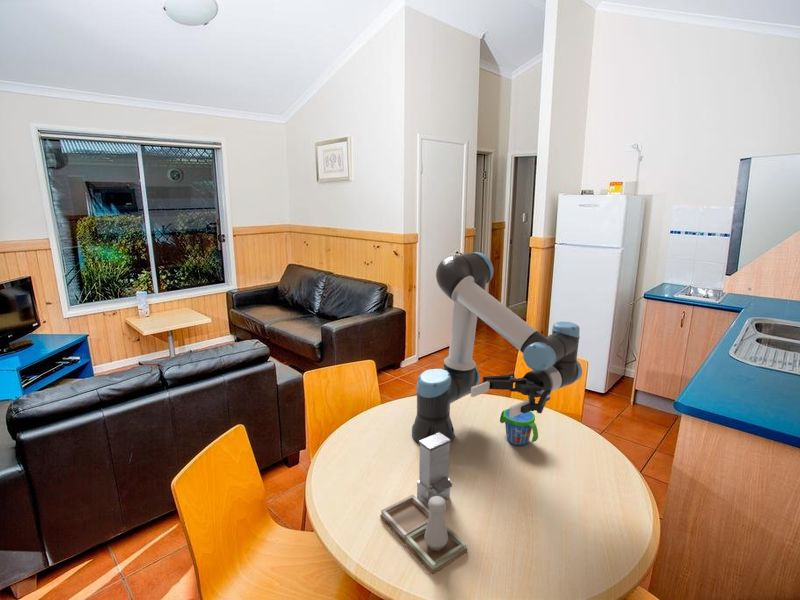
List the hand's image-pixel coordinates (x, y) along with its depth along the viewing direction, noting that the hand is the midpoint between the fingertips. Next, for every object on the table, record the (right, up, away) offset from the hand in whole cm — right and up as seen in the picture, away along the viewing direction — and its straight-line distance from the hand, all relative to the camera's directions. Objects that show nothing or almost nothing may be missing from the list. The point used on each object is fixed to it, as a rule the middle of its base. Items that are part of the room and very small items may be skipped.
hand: (490, 401), depth 115 cm
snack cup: (+18, -23, +40) cm, 49 cm away
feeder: (-13, -30, +10) cm, 35 cm away
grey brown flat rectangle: (-18, -34, -2) cm, 38 cm away
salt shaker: (-15, -34, -7) cm, 38 cm away
